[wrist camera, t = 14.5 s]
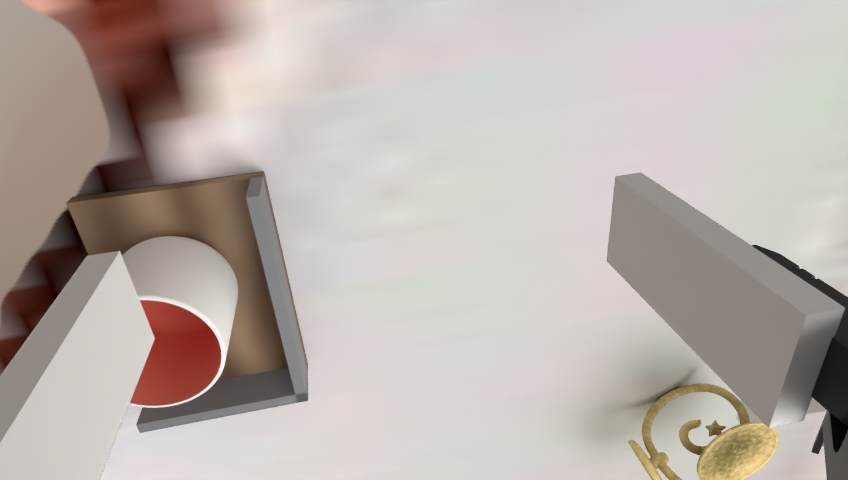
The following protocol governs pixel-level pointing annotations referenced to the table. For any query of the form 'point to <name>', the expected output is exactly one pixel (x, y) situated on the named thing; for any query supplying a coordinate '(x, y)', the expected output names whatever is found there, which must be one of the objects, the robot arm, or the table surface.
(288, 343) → the pen walls
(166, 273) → the cup
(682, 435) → the wall sconce
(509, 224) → the table surface
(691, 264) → the robot arm
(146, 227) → the pen base
